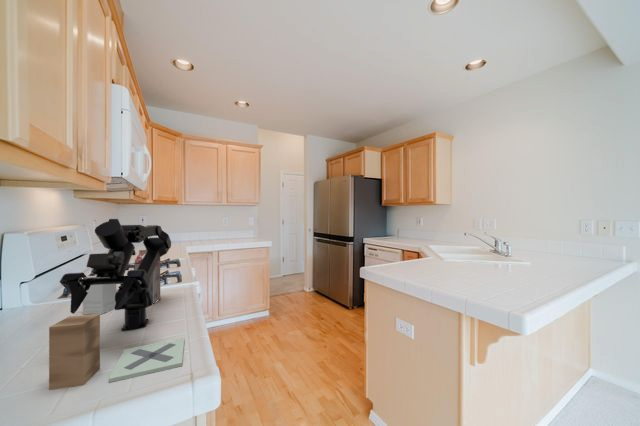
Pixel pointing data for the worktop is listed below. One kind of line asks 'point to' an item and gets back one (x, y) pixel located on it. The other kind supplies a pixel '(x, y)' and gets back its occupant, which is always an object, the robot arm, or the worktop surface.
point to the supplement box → (99, 299)
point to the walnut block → (74, 351)
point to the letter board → (148, 359)
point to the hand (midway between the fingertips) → (94, 311)
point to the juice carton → (155, 277)
